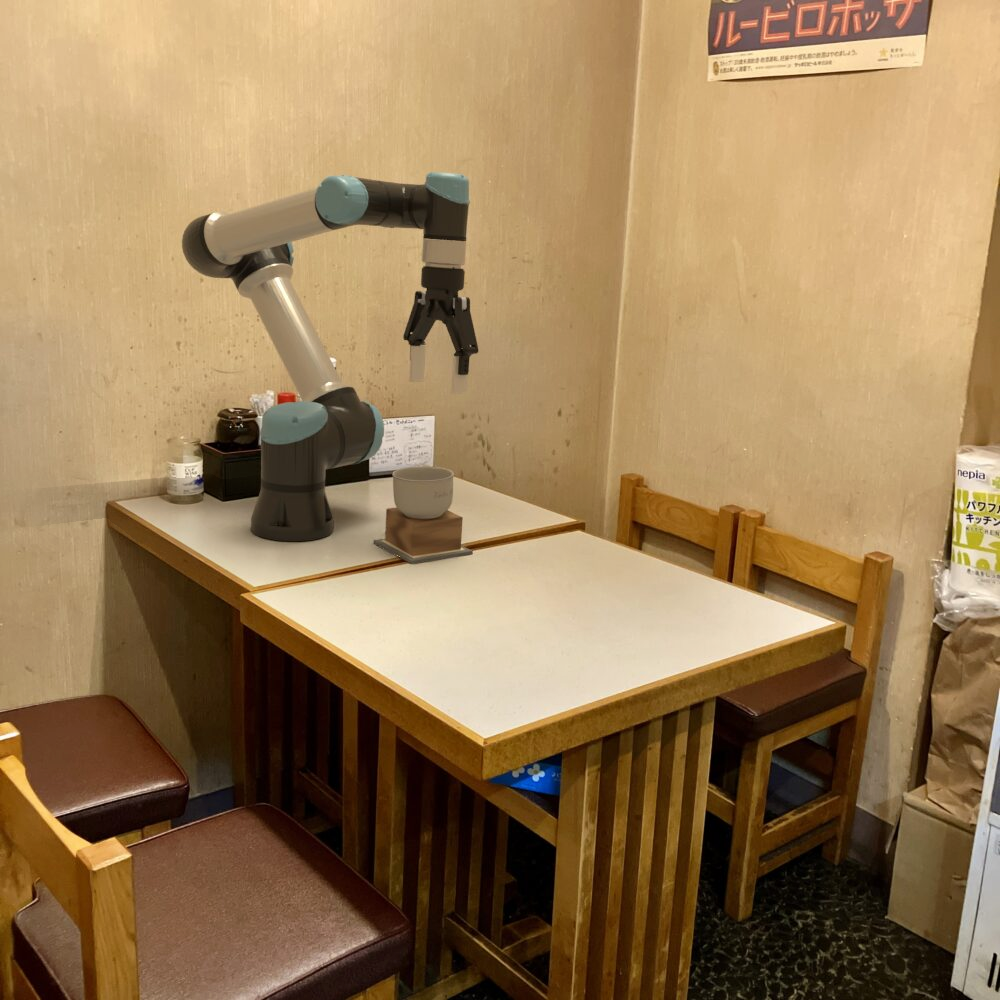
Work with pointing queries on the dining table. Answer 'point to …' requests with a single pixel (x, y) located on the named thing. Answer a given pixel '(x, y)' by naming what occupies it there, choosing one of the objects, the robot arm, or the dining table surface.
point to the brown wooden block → (423, 532)
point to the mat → (421, 558)
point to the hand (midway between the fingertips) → (437, 387)
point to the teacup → (423, 491)
